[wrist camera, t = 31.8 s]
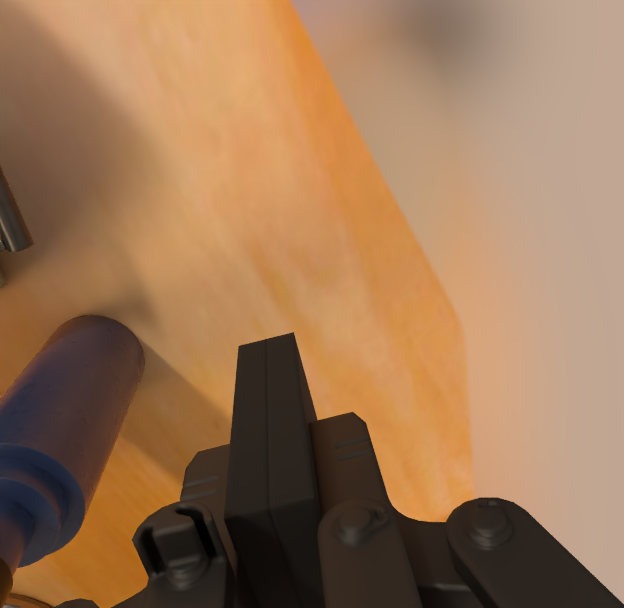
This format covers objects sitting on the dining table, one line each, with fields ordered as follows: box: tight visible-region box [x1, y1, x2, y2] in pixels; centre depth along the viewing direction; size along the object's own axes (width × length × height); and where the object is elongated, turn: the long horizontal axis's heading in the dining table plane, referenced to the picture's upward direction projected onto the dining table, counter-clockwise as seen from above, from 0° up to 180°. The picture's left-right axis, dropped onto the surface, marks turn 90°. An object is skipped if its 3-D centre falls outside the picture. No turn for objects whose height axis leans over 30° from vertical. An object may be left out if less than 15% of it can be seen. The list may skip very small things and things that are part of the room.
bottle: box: [0, 315, 145, 608], centre depth 34 cm, size 7×7×22 cm
